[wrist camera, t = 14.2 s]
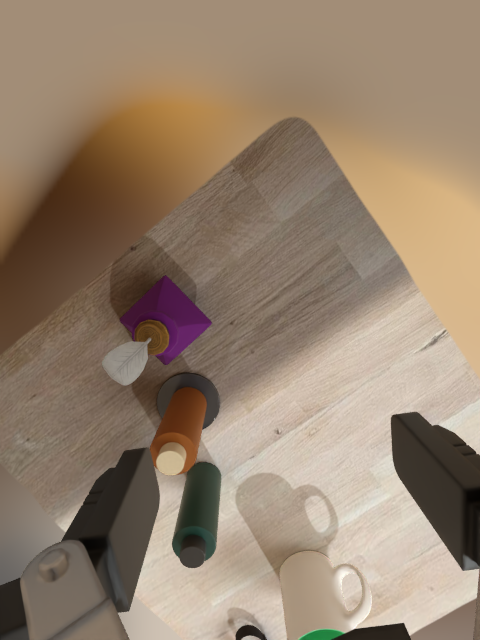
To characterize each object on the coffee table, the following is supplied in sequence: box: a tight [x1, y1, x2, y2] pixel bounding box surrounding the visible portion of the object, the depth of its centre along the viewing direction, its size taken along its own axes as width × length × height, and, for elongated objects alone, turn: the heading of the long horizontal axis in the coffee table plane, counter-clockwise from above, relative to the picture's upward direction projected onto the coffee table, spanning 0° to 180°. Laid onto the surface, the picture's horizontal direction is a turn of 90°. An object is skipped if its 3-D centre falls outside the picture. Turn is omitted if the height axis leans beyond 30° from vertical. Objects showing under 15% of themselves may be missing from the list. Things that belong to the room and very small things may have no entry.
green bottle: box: [172, 462, 221, 568], centre depth 41 cm, size 5×5×12 cm
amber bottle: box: [150, 387, 207, 476], centre depth 39 cm, size 5×5×12 cm
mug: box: [279, 551, 372, 640], centre depth 46 cm, size 12×8×10 cm, turn 132°
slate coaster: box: [157, 373, 220, 430], centre depth 45 cm, size 8×8×1 cm
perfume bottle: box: [102, 275, 212, 385], centre depth 34 cm, size 8×8×18 cm
